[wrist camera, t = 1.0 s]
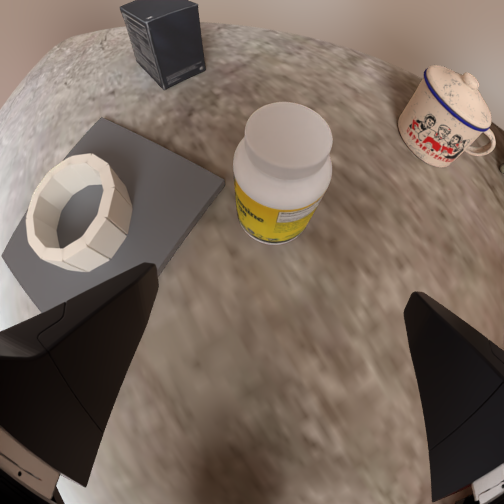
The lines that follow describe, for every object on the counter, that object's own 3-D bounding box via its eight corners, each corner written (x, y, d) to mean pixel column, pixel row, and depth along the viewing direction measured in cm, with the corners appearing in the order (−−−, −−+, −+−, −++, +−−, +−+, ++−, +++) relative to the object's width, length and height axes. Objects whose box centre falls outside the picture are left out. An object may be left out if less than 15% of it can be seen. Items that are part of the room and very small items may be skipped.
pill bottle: (227, 193, 25) (215, 105, 14) (291, 174, 25) (314, 85, 14) (251, 257, 23) (253, 196, 12) (319, 233, 24) (367, 164, 13)
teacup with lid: (390, 145, 27) (437, 72, 15) (399, 101, 29) (434, 38, 18) (468, 195, 25) (529, 148, 14) (468, 146, 28) (513, 98, 16)
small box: (210, 70, 29) (201, 2, 19) (164, 92, 28) (143, 23, 18) (174, 43, 32) (163, -12, 21) (135, 62, 30) (116, 7, 20)
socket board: (100, 368, 20) (68, 375, 15) (6, 258, 23) (-22, 246, 18) (225, 185, 25) (220, 153, 20) (104, 122, 27) (88, 95, 22)
